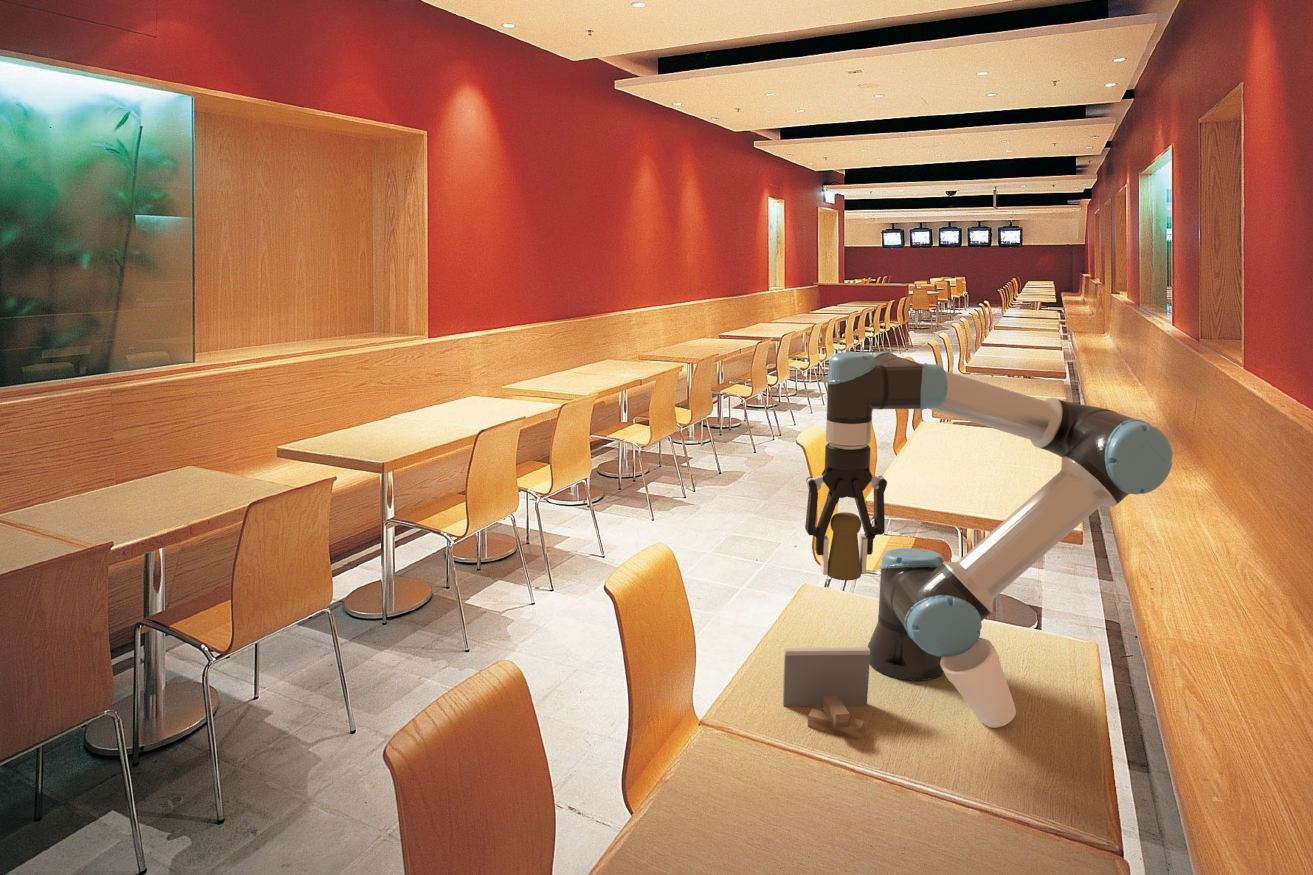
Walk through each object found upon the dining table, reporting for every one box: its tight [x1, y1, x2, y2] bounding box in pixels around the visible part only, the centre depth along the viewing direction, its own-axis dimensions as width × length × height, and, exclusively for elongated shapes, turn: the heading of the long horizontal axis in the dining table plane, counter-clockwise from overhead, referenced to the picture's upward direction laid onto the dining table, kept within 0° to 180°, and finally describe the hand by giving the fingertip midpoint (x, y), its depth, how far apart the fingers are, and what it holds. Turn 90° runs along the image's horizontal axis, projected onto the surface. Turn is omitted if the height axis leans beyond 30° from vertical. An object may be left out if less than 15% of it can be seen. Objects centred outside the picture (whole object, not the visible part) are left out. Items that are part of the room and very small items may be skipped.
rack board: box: [782, 646, 870, 707], centre depth 154 cm, size 15×1×11 cm, turn 91°
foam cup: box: [940, 637, 1017, 729], centre depth 148 cm, size 10×9×13 cm
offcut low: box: [807, 708, 865, 740], centre depth 147 cm, size 9×3×2 cm, turn 65°
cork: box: [827, 511, 862, 581], centre depth 150 cm, size 6×6×11 cm
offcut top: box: [822, 695, 851, 728], centre depth 147 cm, size 6×2×2 cm, turn 9°
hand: (843, 571), depth 152 cm, fingers closed on cork, 6 cm apart
